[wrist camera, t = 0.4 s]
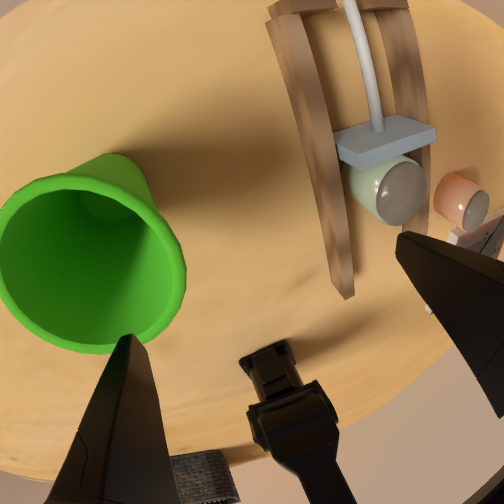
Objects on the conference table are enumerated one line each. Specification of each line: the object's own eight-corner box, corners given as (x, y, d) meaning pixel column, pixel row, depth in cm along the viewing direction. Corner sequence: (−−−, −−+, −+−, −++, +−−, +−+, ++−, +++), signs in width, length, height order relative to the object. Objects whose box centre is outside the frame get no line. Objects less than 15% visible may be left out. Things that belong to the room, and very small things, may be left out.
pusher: (396, 126, 22) (436, 141, 18) (323, 150, 22) (360, 170, 18) (366, -10, 14) (408, -19, 10) (277, -6, 13) (310, -25, 10)
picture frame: (506, 203, 37) (447, 228, 34) (515, 209, 35) (459, 237, 32) (483, 268, 47) (422, 306, 44) (491, 275, 45) (430, 315, 42)
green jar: (390, 188, 26) (427, 212, 22) (345, 209, 26) (379, 238, 22) (386, 135, 23) (428, 153, 18) (335, 152, 22) (375, 174, 18)
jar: (457, 204, 31) (485, 224, 27) (432, 219, 31) (461, 242, 27) (460, 166, 28) (492, 184, 23) (434, 179, 27) (468, 200, 23)
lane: (408, 240, 31) (427, 256, 28) (331, 282, 31) (348, 304, 28) (381, -1, 15) (410, -5, 12) (259, 8, 14) (279, -4, 11)
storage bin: (219, 446, 53) (236, 497, 42) (228, 463, 64) (242, 503, 53) (104, 460, 46) (111, 509, 36) (134, 476, 58) (142, 515, 47)
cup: (195, 200, 21) (227, 300, 12) (104, 260, 21) (88, 374, 13) (129, 99, 16) (91, 119, 7) (35, 178, 16) (-40, 266, 7)
